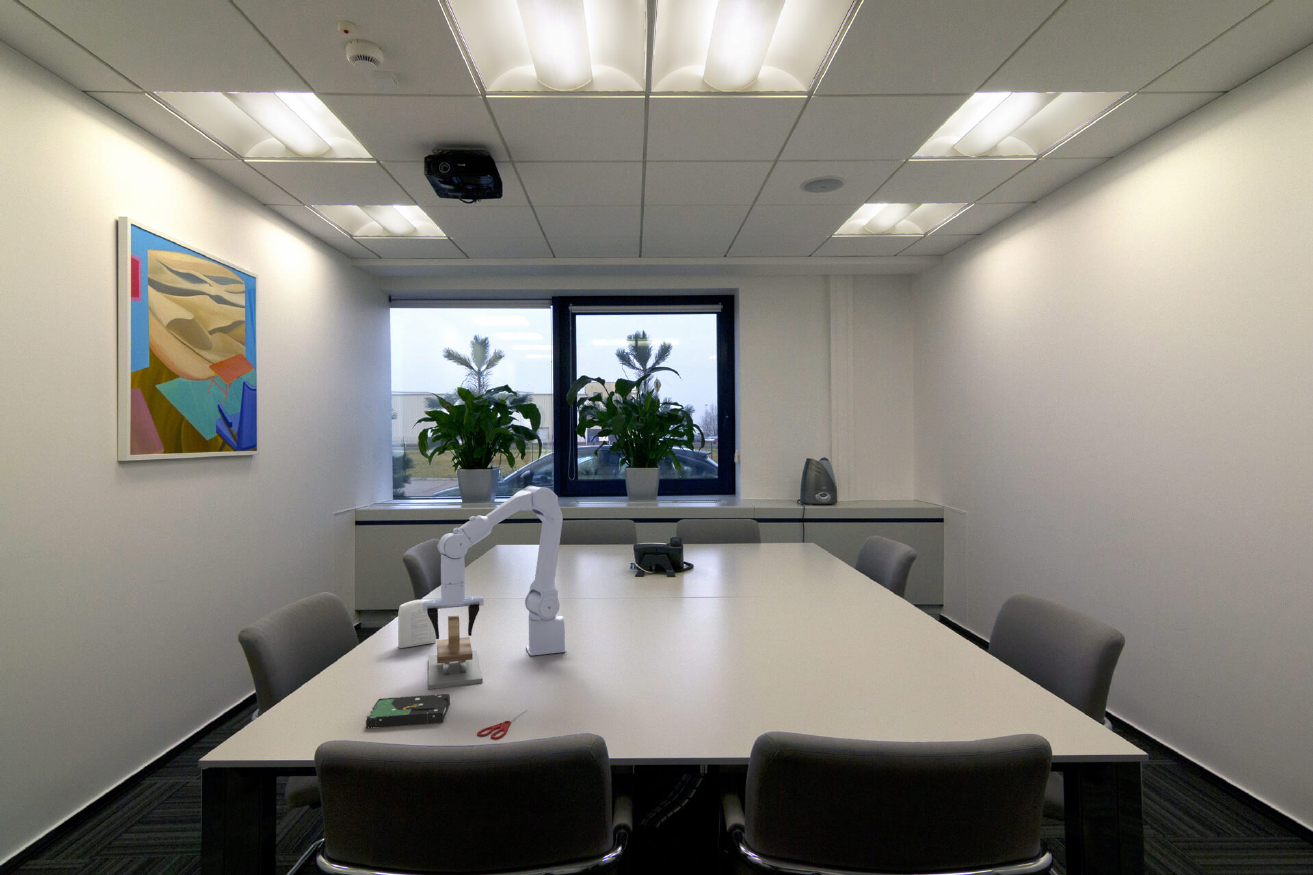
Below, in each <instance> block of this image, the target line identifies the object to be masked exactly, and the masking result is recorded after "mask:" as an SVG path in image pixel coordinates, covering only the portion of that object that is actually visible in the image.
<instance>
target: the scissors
mask: <svg viewBox="0 0 1313 875" xmlns="http://www.w3.org/2000/svg"><path fill="white" fill-rule="evenodd" d="M527 712H528V709H526V710H524V711H522V712H520V713H519V714H517V715H515V716H514V717H512V718H511V719H508V720H505V721H502V722H500V723H496V724H494V725H491V726H490V725H489V726H487V727H485V728H482V729H480V730H479V731H478V732H477V733H476V736H477V737H480V738H484V737H488V736H489V735H490V734H491V735H490V739H491V740H496V741H497V740H500V739H502V738H503V737H505V735H507V732H508V731H509V727H510V726H511V725H512V723H513V722H514V721H517V719H519V718H520V717H521V716H523V715H524V714H526V713H527ZM486 731H487V732H486ZM484 732H486V733H484ZM501 732H502V733H501ZM500 733H501V734H500ZM499 734H500V735H499ZM496 735H498V736H496Z"/></svg>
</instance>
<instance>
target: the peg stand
mask: <svg viewBox="0 0 1313 875" xmlns="http://www.w3.org/2000/svg"><path fill="white" fill-rule="evenodd" d="M472 655H473V660H465V661H456V662H447V663H438V664H437V654H433V655H428V690H434V688H436V689H443V688H450V687H459V686H466V685H467V684H468V685H474V684H482V683H481V682H484V681H483V673H482V670H481V665H480V660H479V655H478V651H477V650H472ZM468 685H467V686H468Z"/></svg>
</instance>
